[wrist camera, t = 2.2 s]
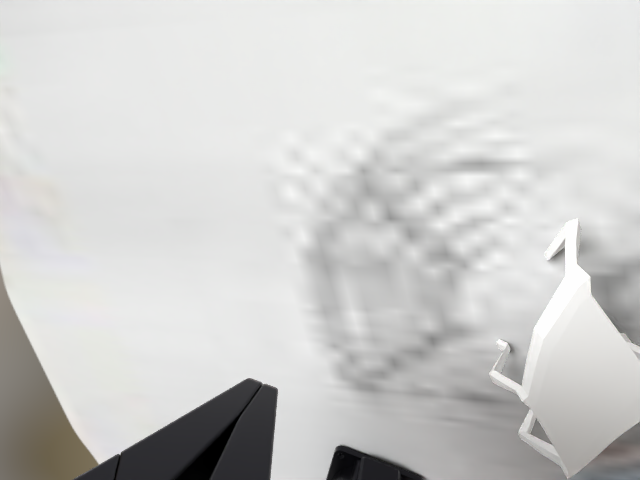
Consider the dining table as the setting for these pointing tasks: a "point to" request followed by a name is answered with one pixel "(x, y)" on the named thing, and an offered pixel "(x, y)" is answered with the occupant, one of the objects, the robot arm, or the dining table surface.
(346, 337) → the dining table surface
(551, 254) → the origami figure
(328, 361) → the dining table surface
